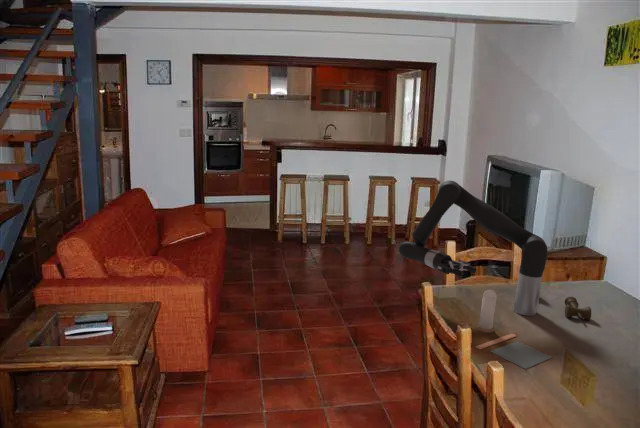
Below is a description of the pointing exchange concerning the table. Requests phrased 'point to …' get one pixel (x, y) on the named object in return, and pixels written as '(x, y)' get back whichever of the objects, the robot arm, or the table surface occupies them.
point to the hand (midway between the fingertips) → (468, 272)
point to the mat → (521, 355)
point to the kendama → (576, 309)
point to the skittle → (487, 312)
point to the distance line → (495, 341)
